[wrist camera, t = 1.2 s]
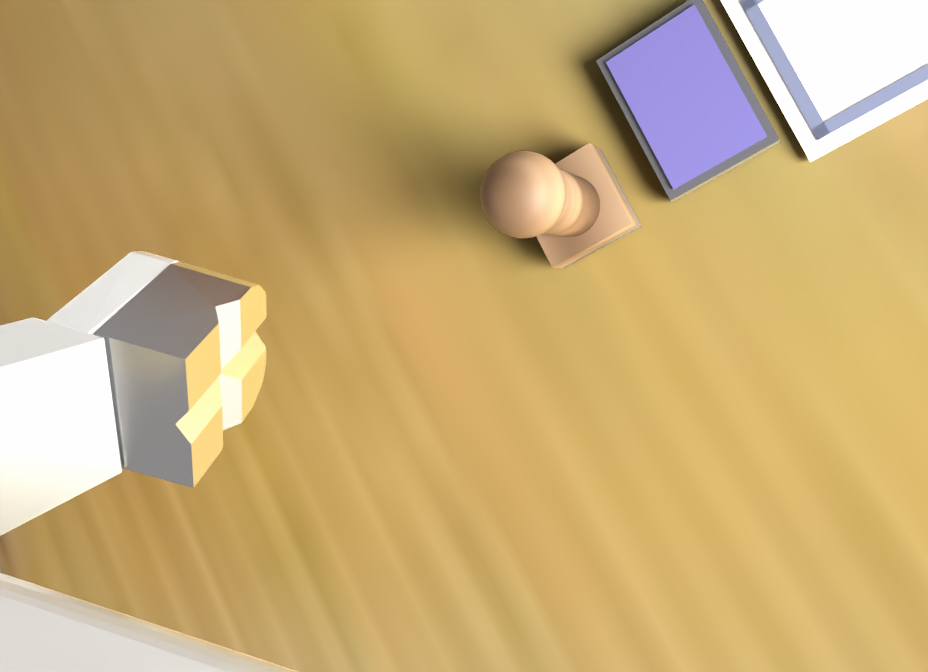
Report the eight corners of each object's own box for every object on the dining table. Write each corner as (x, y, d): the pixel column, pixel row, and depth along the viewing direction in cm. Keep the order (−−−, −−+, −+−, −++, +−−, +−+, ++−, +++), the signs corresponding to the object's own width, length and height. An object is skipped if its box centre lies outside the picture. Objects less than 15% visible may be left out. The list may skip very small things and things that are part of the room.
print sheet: (909, -123, 37) (910, -127, 36) (1014, 52, 36) (1016, 49, 35) (719, -1, 40) (718, -3, 40) (810, 162, 39) (809, 161, 39)
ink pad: (701, -1, 40) (698, -9, 39) (780, 142, 39) (779, 139, 38) (600, 65, 43) (595, 59, 41) (673, 202, 42) (669, 200, 41)
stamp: (601, 149, 43) (530, 111, 32) (641, 225, 42) (582, 212, 32) (527, 193, 45) (438, 171, 34) (565, 268, 44) (486, 268, 34)
